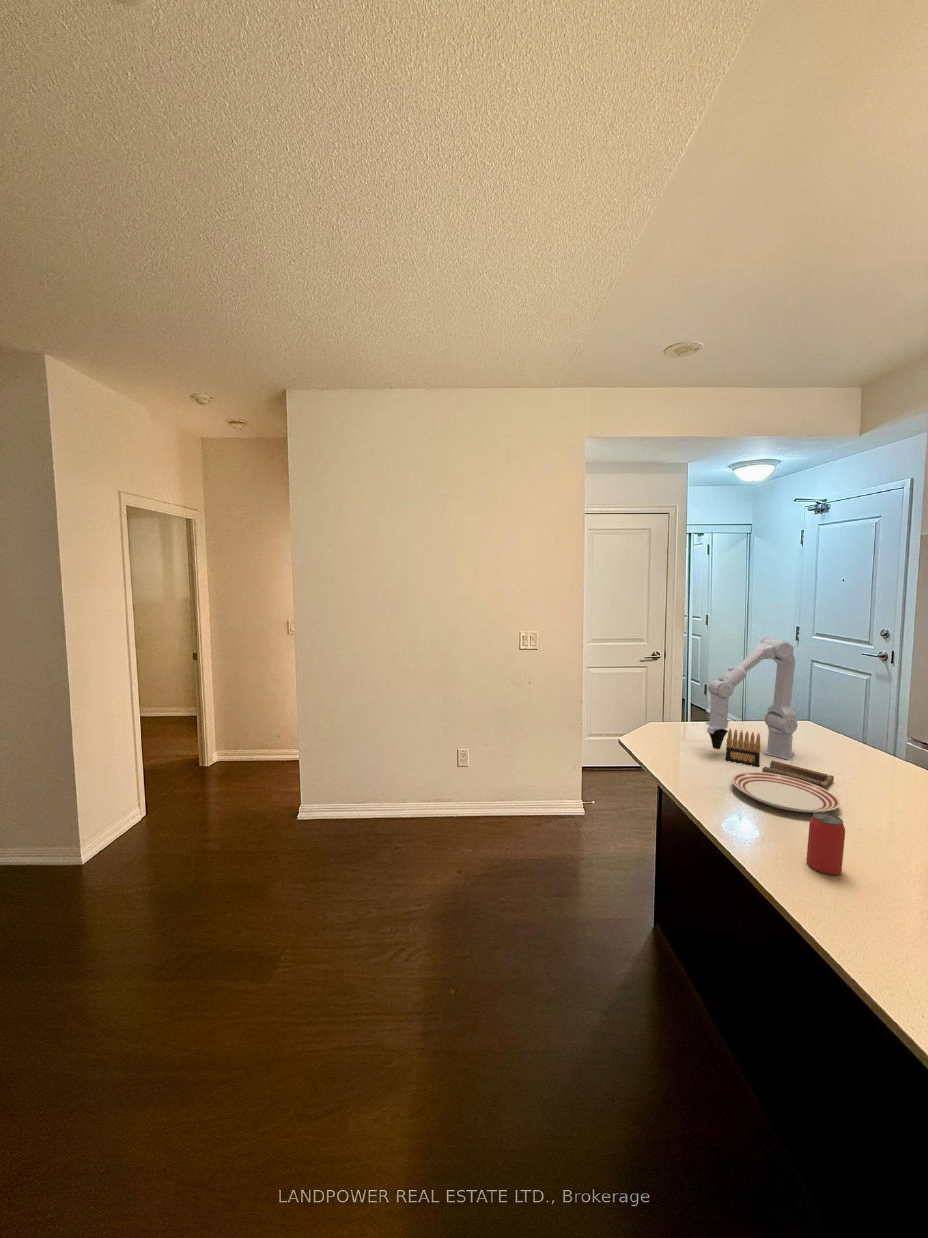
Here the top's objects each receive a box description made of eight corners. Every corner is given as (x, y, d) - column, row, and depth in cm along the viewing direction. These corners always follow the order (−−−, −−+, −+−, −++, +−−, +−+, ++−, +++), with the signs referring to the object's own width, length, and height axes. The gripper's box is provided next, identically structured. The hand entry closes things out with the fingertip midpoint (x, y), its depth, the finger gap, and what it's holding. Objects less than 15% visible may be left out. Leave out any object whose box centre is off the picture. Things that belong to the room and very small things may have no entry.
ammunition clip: (759, 765, 173) (761, 732, 172) (759, 767, 172) (761, 734, 170) (725, 759, 179) (727, 727, 178) (724, 761, 177) (727, 728, 176)
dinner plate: (745, 772, 167) (746, 763, 167) (846, 800, 148) (847, 789, 147) (718, 797, 148) (718, 786, 148) (829, 832, 128) (830, 820, 128)
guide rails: (772, 765, 173) (772, 760, 173) (833, 782, 160) (833, 776, 160) (762, 774, 166) (762, 768, 165) (825, 791, 153) (825, 785, 152)
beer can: (799, 859, 115) (803, 811, 114) (825, 859, 116) (829, 810, 115) (821, 877, 109) (826, 825, 108) (849, 876, 109) (854, 824, 108)
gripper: (715, 706, 188) (712, 741, 189) (699, 713, 178) (697, 750, 179) (735, 710, 183) (732, 746, 184) (720, 718, 173) (717, 755, 174)
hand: (716, 748), depth 181 cm, fingers closed
